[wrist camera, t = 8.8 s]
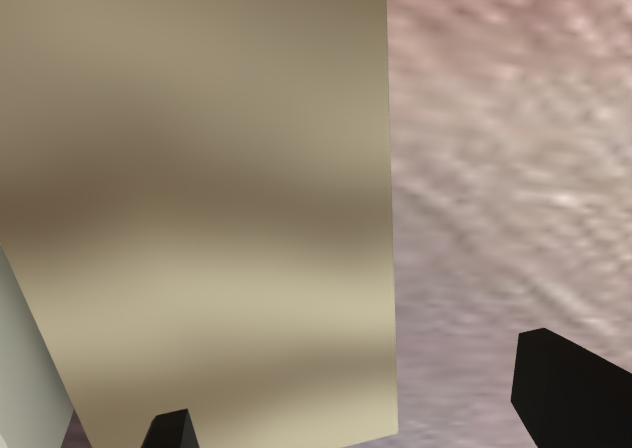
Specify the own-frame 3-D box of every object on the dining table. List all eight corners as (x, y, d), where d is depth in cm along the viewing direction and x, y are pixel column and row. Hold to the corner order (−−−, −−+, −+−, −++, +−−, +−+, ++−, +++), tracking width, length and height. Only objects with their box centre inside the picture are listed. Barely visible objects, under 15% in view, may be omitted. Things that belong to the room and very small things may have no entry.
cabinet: (356, 340, 23) (398, 433, 18) (38, 410, 20) (-19, 538, 15) (317, -194, 14) (377, -313, 9) (-250, -169, 12) (-595, -307, 7)
